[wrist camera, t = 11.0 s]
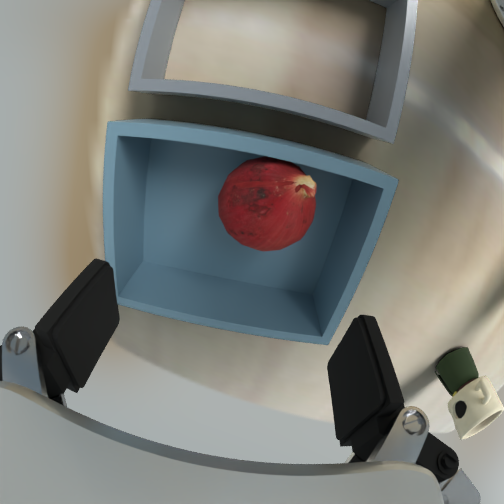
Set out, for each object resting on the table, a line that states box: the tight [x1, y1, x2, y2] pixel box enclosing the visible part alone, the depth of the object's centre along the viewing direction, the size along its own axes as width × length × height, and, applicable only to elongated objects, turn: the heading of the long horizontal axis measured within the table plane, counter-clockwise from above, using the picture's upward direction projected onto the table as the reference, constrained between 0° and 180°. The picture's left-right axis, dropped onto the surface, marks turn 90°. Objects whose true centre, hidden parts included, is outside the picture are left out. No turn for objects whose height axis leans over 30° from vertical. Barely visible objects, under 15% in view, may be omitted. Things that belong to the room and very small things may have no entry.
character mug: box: [435, 347, 504, 440], centre depth 24 cm, size 11×7×13 cm, turn 22°
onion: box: [218, 156, 317, 251], centre depth 16 cm, size 6×6×8 cm
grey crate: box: [128, 0, 418, 144], centre depth 13 cm, size 13×17×4 cm
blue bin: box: [103, 119, 399, 345], centre depth 19 cm, size 13×17×6 cm
